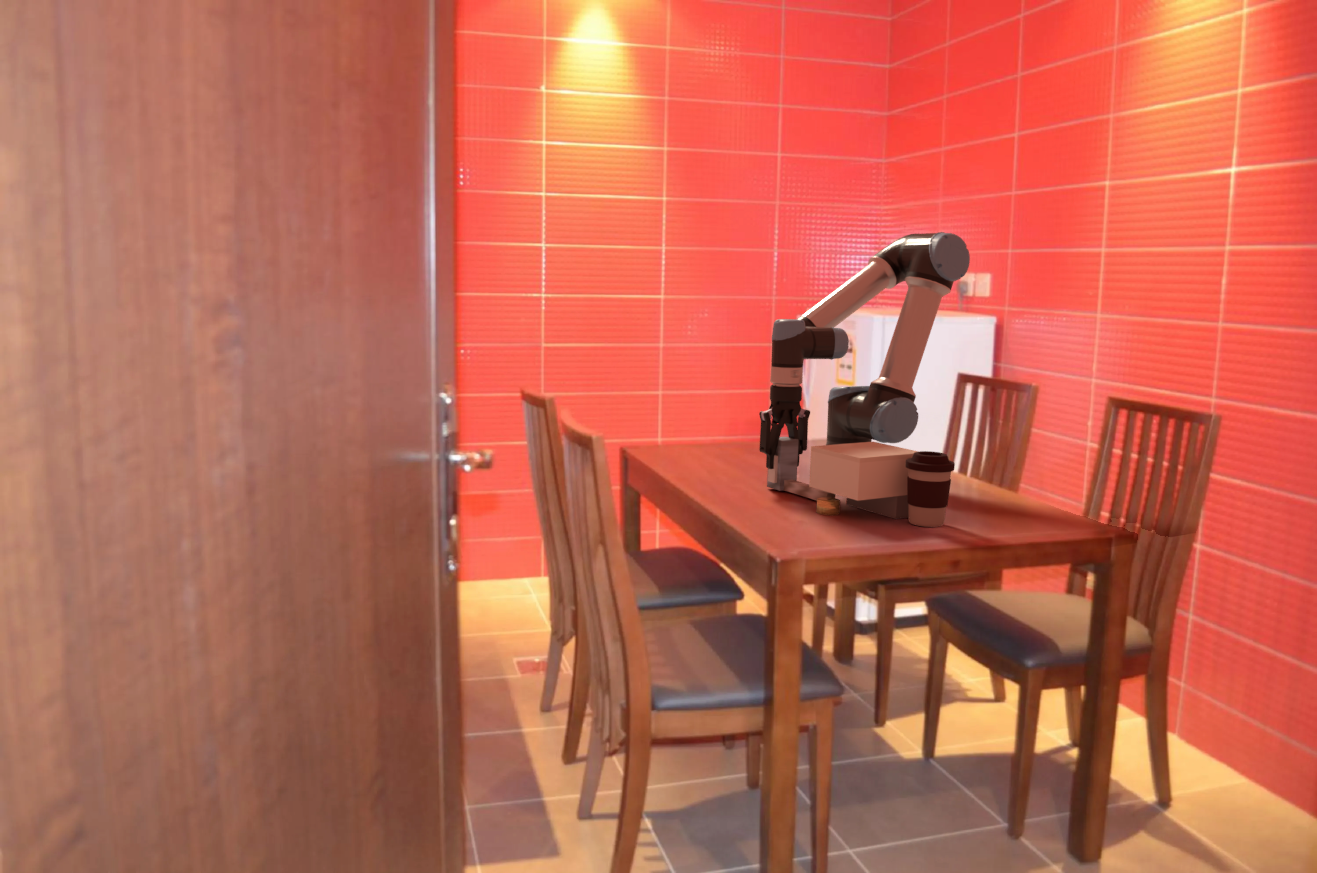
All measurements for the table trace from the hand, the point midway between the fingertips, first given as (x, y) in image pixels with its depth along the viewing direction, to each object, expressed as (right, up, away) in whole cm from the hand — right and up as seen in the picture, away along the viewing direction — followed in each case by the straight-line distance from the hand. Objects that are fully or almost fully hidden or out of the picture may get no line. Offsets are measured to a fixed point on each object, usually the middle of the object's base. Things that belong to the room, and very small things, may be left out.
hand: (782, 480), depth 253 cm
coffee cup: (+27, -8, -31) cm, 42 cm away
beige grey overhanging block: (+15, -6, -21) cm, 27 cm away
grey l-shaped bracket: (+4, -3, -7) cm, 8 cm away
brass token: (+7, -6, -23) cm, 25 cm away
